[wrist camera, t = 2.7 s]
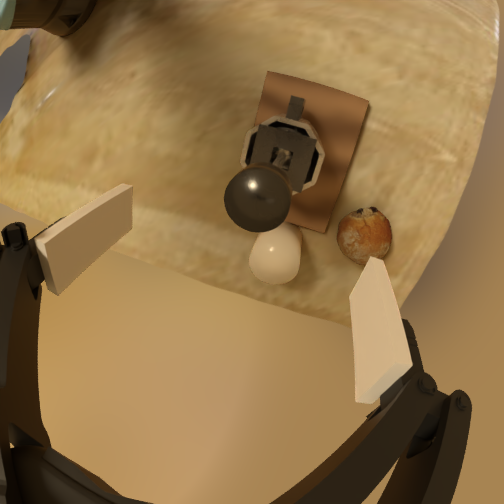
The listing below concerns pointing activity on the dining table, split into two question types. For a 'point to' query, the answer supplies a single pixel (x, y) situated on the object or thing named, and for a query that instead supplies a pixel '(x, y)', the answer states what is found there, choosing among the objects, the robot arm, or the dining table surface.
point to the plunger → (261, 193)
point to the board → (330, 133)
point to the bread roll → (364, 235)
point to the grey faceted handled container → (287, 145)
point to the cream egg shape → (277, 254)
